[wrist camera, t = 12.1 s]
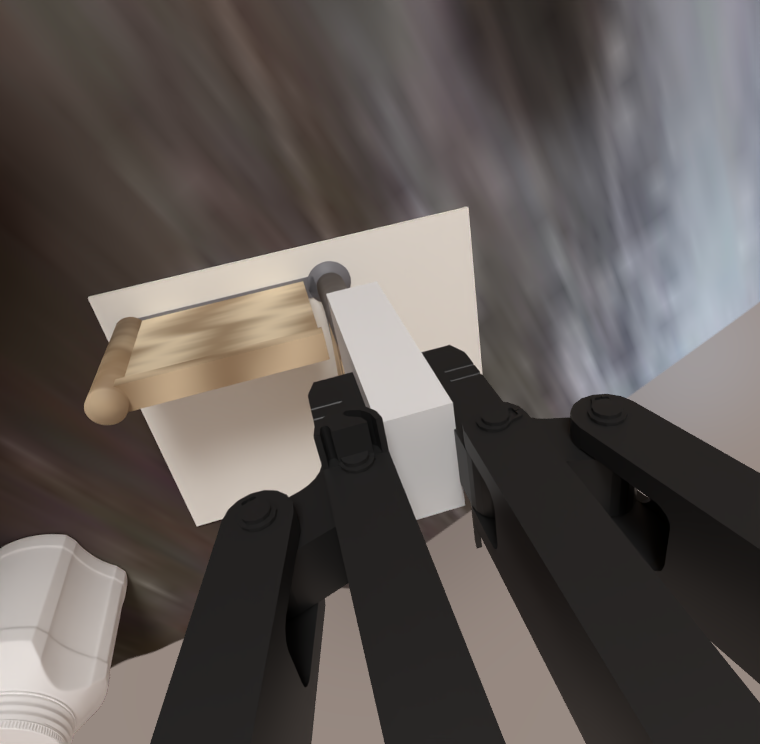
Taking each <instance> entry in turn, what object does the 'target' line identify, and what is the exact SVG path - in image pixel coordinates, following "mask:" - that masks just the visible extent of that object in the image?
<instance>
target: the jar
mask: <svg viewBox="0 0 760 744" xmlns="http://www.w3.org/2000/svg"><path fill="white" fill-rule="evenodd" d="M126 589H127V575H126V572H125V571H124V570H123V569H121V568H119V567H118V566H116V565H112V564H109V563H107V562H104V561H102V560H100V559H98V558H96V557H95V556H93V555H91V554H90V553H88V552H87V551H86V550H85V549H84V548H82V547H81V546H80V545H79V544H78V542H77V541H76V540H74V539H73V538H71V537H69V536H68V535H63V534H44V535H36V536H30V537H26V538H22V539H19V540H16V541H14V542H11V543H9V544H7V545H5V546H3V547H2V548H0V744H71V743H72V741H73V735H74V734H75V733H76V732H77V731H78V730H79V729H80V728H81V727H82V726H83V725H84V724H85V722H87V721H88V720H89V719H90V717H91V716H92V715H93V714H94V713H95V712H96V711H97V710H98V709H99V708H100V706H101V705H102V703H103V702H104V699H105V697H106V694H107V690H108V685H109V679H110V667H111V662H112V656H113V651H114V646H115V640H116V635H117V630H118V625H119V619H120V614H121V609H122V605H123V602H124V599H125V594H126Z"/></svg>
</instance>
